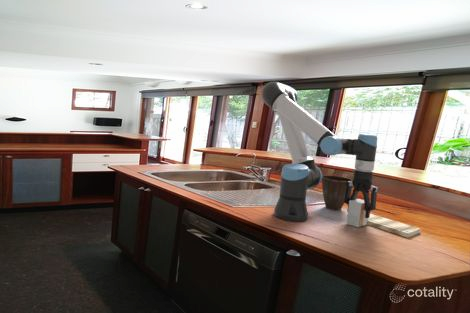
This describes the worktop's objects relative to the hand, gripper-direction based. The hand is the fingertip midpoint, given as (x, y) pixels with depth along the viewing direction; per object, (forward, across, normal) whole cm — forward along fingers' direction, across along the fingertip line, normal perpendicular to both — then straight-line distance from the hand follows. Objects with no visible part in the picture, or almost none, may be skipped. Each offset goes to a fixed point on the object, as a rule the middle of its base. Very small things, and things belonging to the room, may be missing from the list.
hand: (357, 222), depth 126 cm
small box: (+1, 0, 0) cm, 1 cm away
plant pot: (+1, -20, +12) cm, 23 cm away
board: (+1, +8, +10) cm, 13 cm away
